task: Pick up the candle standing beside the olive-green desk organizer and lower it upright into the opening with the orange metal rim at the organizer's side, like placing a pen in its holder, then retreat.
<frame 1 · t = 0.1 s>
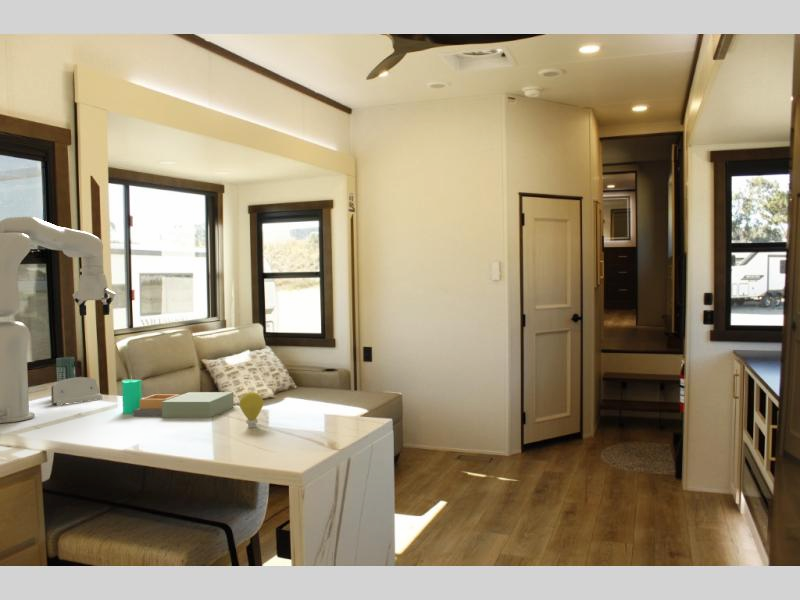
hand: (94, 315, 254), 31 cm above the table, tool pointing down, fingers open, 9 cm apart
can: (66, 397, 254), on the table
light bulb: (252, 427, 190), on the table
candle: (132, 412, 218), on the table
desk organizer: (160, 411, 217), on the table
hinge: (76, 402, 242), on the table
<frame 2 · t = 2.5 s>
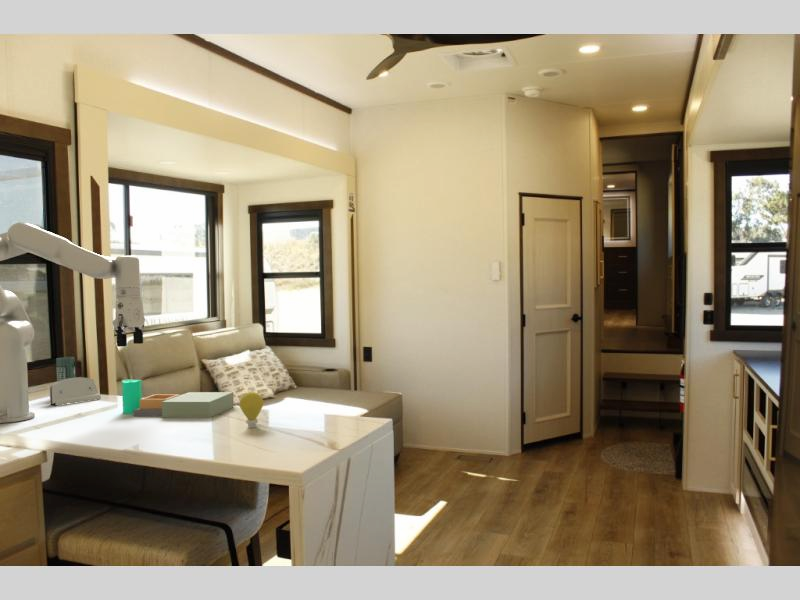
hand: (130, 344, 218), 22 cm above the table, tool pointing down, fingers open, 9 cm apart
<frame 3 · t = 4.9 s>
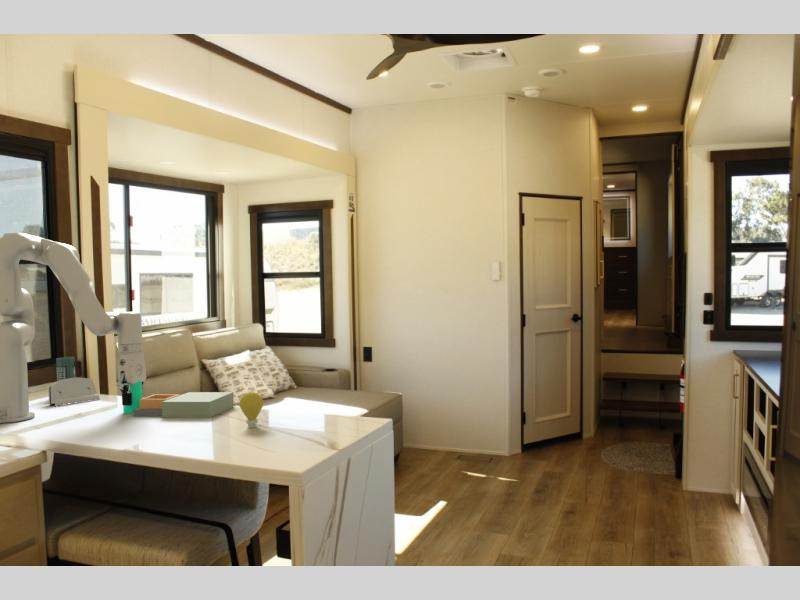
hand: (132, 402, 218), 3 cm above the table, tool pointing down, fingers closed on candle, 5 cm apart
candle: (133, 412, 219), on the table, touching gripper
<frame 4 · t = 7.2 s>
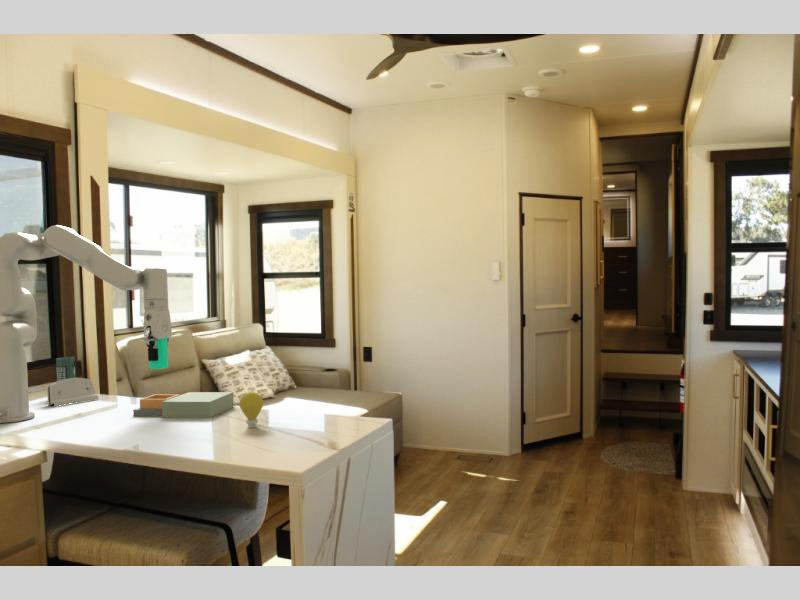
hand: (158, 359, 216), 18 cm above the table, tool pointing down, fingers closed on candle, 5 cm apart
candle: (159, 368, 217), point 14 cm above the table, touching gripper
when the fingers open (7 cm above the table, at t = 9.9 s): candle drops 2 cm, resting on desk organizer.
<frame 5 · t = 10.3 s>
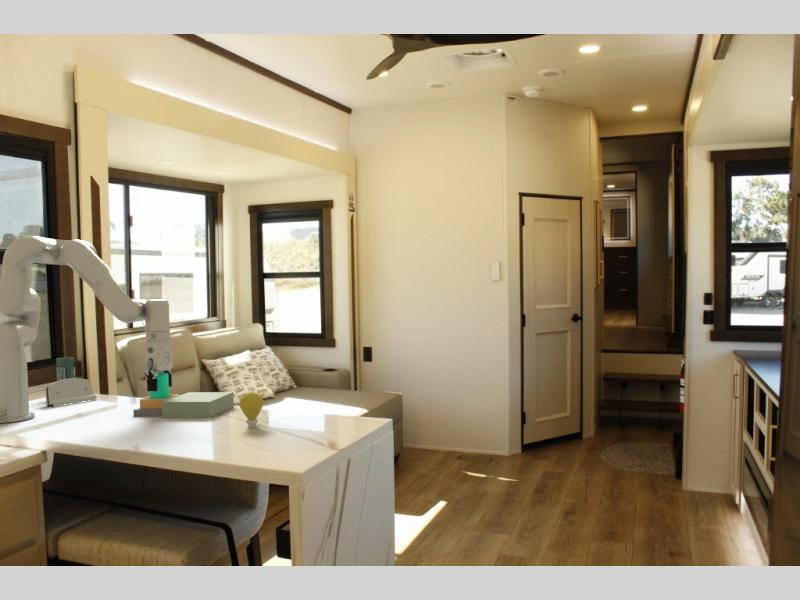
hand: (159, 388, 217), 8 cm above the table, tool pointing down, fingers open, 9 cm apart
candle: (160, 405, 217), point 2 cm above the table, touching desk organizer
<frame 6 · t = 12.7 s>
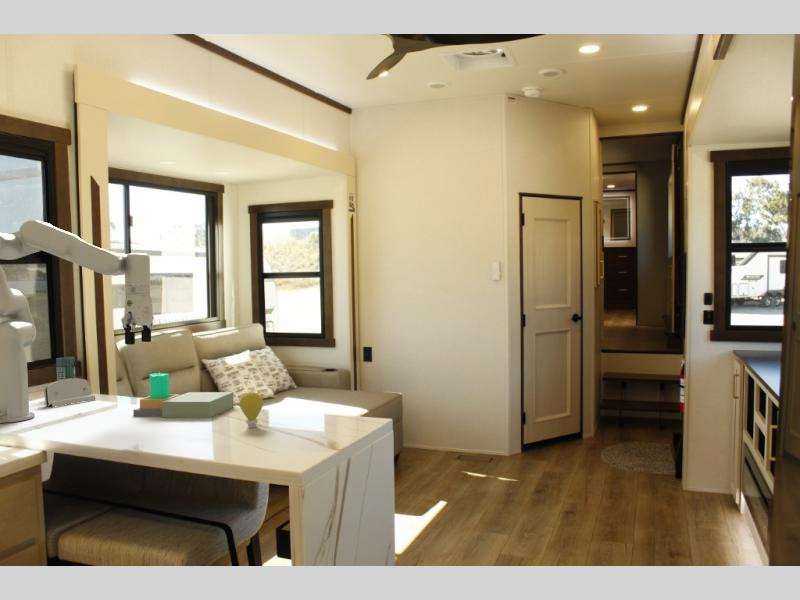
hand: (138, 343, 216), 23 cm above the table, tool pointing down, fingers open, 9 cm apart
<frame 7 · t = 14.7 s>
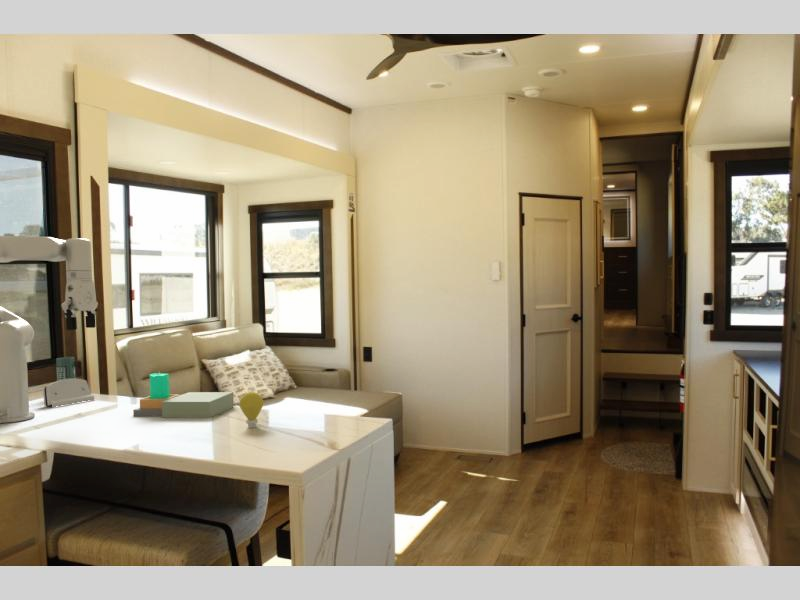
hand: (81, 328, 215), 28 cm above the table, tool pointing down, fingers open, 9 cm apart
at the end: candle 0.3 cm off-centre on the desk organizer, point 1.8 cm above the desk organizer's base; candle tilted 0°; the gripper is holding nothing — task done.
